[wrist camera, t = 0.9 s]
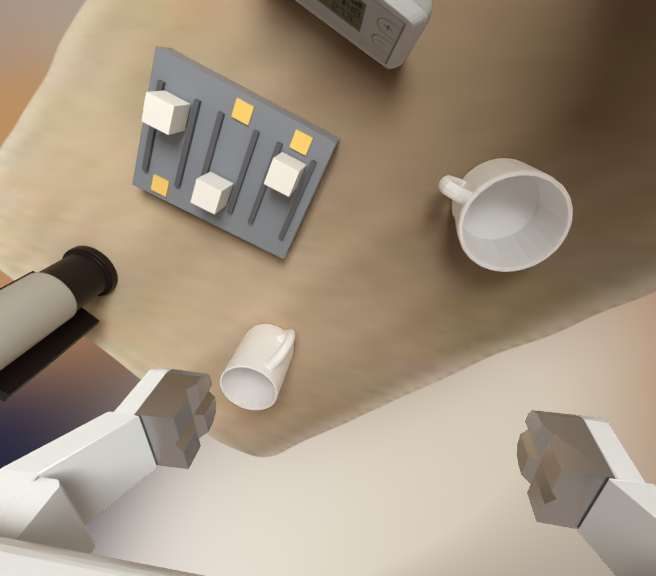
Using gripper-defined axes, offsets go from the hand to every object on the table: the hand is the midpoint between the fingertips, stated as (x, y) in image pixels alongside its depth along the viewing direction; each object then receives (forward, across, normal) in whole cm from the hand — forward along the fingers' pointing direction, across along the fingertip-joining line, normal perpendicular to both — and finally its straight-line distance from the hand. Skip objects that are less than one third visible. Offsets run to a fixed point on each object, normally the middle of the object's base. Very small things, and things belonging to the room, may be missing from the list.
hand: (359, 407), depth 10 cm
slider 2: (+35, +20, +4) cm, 41 cm away
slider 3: (+35, +11, +2) cm, 37 cm away
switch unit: (+39, +18, +2) cm, 43 cm away
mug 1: (+39, +15, +28) cm, 51 cm away
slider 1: (+35, +24, -4) cm, 43 cm away
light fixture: (+39, +45, +20) cm, 63 cm away
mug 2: (+39, -12, +5) cm, 41 cm away
